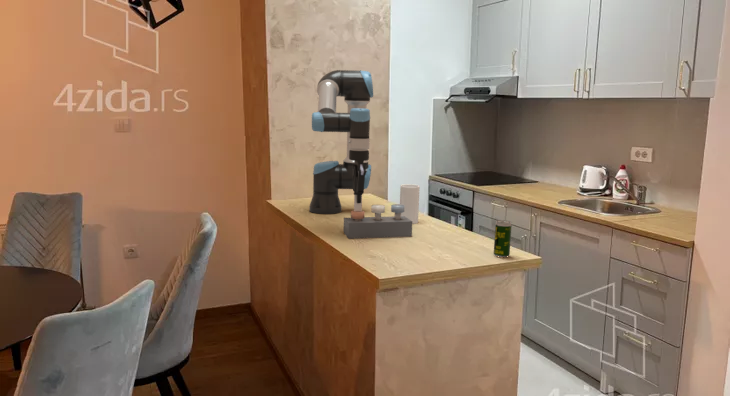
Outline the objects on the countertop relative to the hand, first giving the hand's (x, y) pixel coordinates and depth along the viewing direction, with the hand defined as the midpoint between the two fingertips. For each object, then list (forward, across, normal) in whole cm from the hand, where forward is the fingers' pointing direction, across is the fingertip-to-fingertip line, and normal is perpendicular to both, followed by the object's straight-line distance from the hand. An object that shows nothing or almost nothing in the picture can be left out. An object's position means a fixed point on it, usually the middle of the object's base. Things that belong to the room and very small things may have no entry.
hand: (357, 210), depth 215 cm
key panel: (+10, 0, +8) cm, 13 cm away
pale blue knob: (+6, 0, +16) cm, 17 cm away
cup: (+10, -21, +28) cm, 36 cm away
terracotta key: (+8, 0, 0) cm, 8 cm away
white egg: (+6, 0, +8) cm, 10 cm away
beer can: (+10, +36, +43) cm, 57 cm away
